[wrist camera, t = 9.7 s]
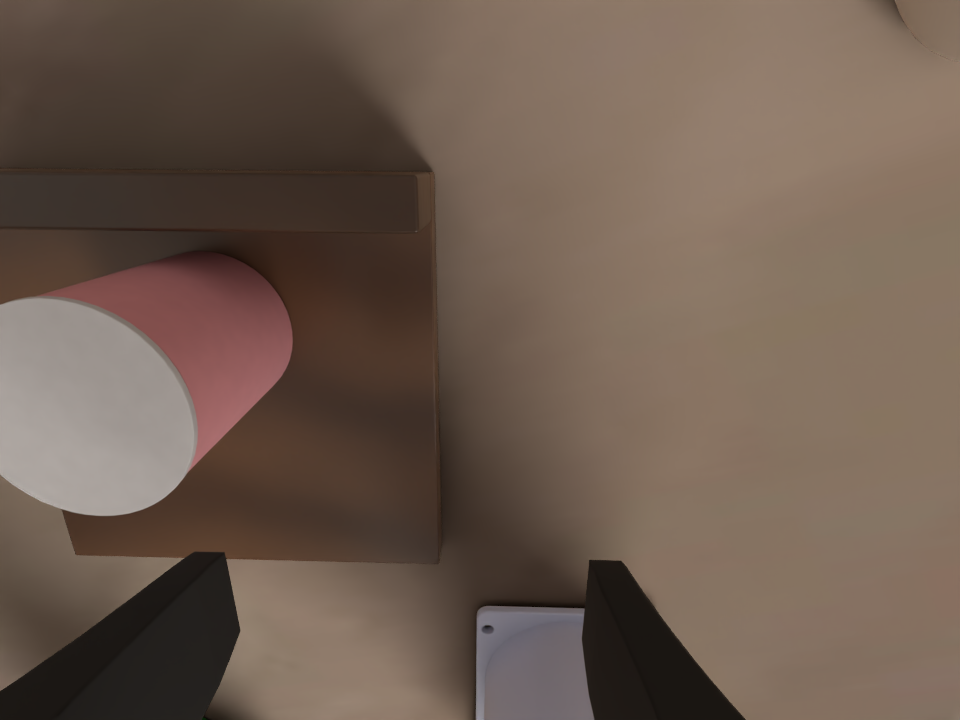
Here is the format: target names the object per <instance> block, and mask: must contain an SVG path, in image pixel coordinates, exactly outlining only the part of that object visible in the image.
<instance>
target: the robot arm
mask: <svg viewBox="0 0 960 720" xmlns="http://www.w3.org/2000/svg"><path fill="white" fill-rule="evenodd" d="M485 625H490V626H491V627H485ZM239 633H240V626H239V621H238V616H237V611H236V606H235V601H234V596H233V591H232V586H231V581H230V576H229V571H228V566H227V561H226V556H225V552H197V551H194V552H193V553H191V554H190V555H189V556H187V557H186V558H184V559H183V560H181V561H180V562H179V563H177V564H176V565H175V566H173V567H172V568H171V569H169V570H168V571H167V572H165V573H164V574H163V575H161V576H160V577H159V578H157V579H156V580H155V581H153V582H152V583H151V584H149V585H148V586H147V587H145V588H144V589H143V590H141V591H140V592H139V593H137V594H136V595H135V596H134V597H132V598H131V599H130V600H128V601H127V602H126V603H124V604H123V605H122V606H120V607H119V608H117V609H116V610H115V611H113V612H112V613H111V614H109V615H108V616H107V617H105V618H104V619H103V620H101V621H100V622H99V623H97V624H96V625H95V626H93V627H92V628H91V629H89V630H88V631H87V632H85V633H84V634H82V635H81V636H80V637H78V638H77V639H75V640H74V641H72V642H71V643H70V644H68V645H67V646H65V647H64V648H62V649H61V650H60V651H58V652H57V653H55V654H54V655H52V656H51V657H49V658H48V659H47V660H45V661H44V662H42V663H41V664H39V665H38V666H37V667H35V668H34V669H32V670H31V671H29V672H28V673H27V674H25V675H24V676H22V677H21V678H19V679H18V680H16V681H15V682H13V683H12V684H10V685H9V686H7V687H6V688H4V689H3V690H1V691H0V720H202V718H203V716H204V714H205V712H206V710H207V708H208V706H209V704H210V702H211V701H212V699H213V697H214V695H215V693H216V691H217V689H218V687H219V685H220V682H221V680H222V677H223V675H224V672H225V670H226V667H227V665H228V662H229V660H230V657H231V654H232V652H233V649H234V646H235V644H236V641H237V638H238V636H239ZM476 720H746V719H745V718H744V717H743V716H742V715H741V714H740V713H739V712H738V710H737V709H736V708H735V707H734V706H733V705H732V704H731V703H730V702H729V700H728V699H727V698H726V697H725V696H724V695H723V693H722V692H721V691H720V690H719V689H718V688H717V686H716V685H715V684H714V683H713V682H712V681H711V680H710V678H709V677H708V676H707V675H706V673H705V672H704V671H703V670H702V669H701V667H700V666H699V665H698V664H697V663H696V661H695V660H694V659H693V658H692V656H691V655H690V654H689V652H688V651H687V650H686V649H685V647H684V646H683V645H682V643H681V642H680V641H679V640H678V638H677V637H676V636H675V635H674V633H673V632H672V631H671V629H670V628H669V627H668V625H667V624H666V623H665V621H664V620H663V619H662V617H661V616H660V615H659V613H658V612H657V610H656V609H655V608H654V606H653V605H652V603H651V602H650V601H649V599H648V598H647V596H646V595H645V594H644V592H643V591H642V589H641V588H640V586H639V585H638V583H637V582H636V580H635V579H634V577H633V576H632V574H631V573H630V571H629V570H628V568H627V567H626V566H625V564H624V563H623V562H622V561H610V560H589V570H588V580H587V590H586V600H585V608H551V607H513V606H484V607H482V608H480V609H479V610H478V612H477V638H476Z"/></svg>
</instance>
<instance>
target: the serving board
mask: <svg viewBox="0 0 960 720" xmlns="http://www.w3.org/2000/svg"><path fill="white" fill-rule="evenodd" d="M193 251H206V252H214V253H219V254H223V255H226V256H229V257H232V258H234V259H237V260H239V261H241V262H243V263H245V264H246V265H248V266H249V267H251V268H253V269H254V270H255V271H257V272H258V273H259V274H260V275H262V276H263V277H264V278H265V279H266V280H267V281H268V282H269V283H270V284H271V286H272V287H273V288H274V289H275V291H276V292H277V293H278V295H279V297H280V298H281V300H282V301H283V304H284V306H285V308H286V310H287V312H288V316H289V319H290V322H291V328H292V336H293V344H292V353H291V357H290V360H289V363H288V365H287V368H286V370H285V371H284V373H283V375H282V376H281V378H280V379H279V380H278V381H277V382H276V383H275V384H274V386H273V387H272V388H271V389H270V390H269V391H268V392H267V393H266V394H265V395H264V396H263V397H262V398H261V399H260V400H259V401H258V402H257V403H256V404H255V405H254V406H253V407H252V408H251V409H250V410H249V411H248V412H247V413H246V414H245V415H244V416H243V417H242V418H241V419H240V420H239V421H238V422H237V423H236V424H235V425H234V426H233V427H232V428H231V429H230V430H229V431H228V432H227V433H226V434H225V435H224V436H223V437H222V438H221V439H220V440H219V441H218V442H217V443H216V444H215V445H214V446H213V447H212V448H211V449H210V450H209V451H208V452H207V453H206V454H205V455H204V456H203V457H202V458H201V459H200V460H199V461H198V462H197V464H196V465H195V466H194V467H193V468H192V469H191V470H190V471H189V472H188V473H187V474H186V475H185V477H184V478H183V480H182V481H181V482H180V483H179V484H178V486H177V487H176V488H175V489H174V490H173V491H172V492H170V493H169V494H168V495H167V496H166V497H165V498H163V499H162V500H160V501H159V502H157V503H155V504H154V505H152V506H149V507H147V508H145V509H143V510H139V511H136V512H132V513H129V514H122V515H115V516H96V515H85V514H80V513H75V512H70V511H67V510H63V509H62V512H63V515H64V519H65V522H66V525H67V528H68V531H69V535H70V538H71V541H72V544H73V548H74V551H75V554H76V555H93V556H133V557H174V558H186V557H187V556H189V555H190V554H191V553H193V552H194V551H197V552H225V556H226V559H255V560H295V561H335V562H376V563H416V564H439V563H440V556H441V549H442V518H441V470H440V422H439V374H438V326H437V278H436V229H435V181H434V172H414V171H293V170H171V169H50V168H0V305H1V304H4V303H6V302H9V301H13V300H16V299H22V298H27V297H35V296H38V295H42V294H45V293H48V292H52V291H55V290H59V289H62V288H65V287H69V286H72V285H76V284H79V283H82V282H86V281H89V280H93V279H96V278H99V277H103V276H106V275H110V274H113V273H116V272H120V271H123V270H126V269H130V268H133V267H137V266H140V265H143V264H147V263H150V262H154V261H157V260H160V259H164V258H167V257H171V256H174V255H177V254H181V253H186V252H193Z"/></svg>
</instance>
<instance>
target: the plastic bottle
mask: <svg viewBox="0 0 960 720" xmlns="http://www.w3.org/2000/svg"><path fill="white" fill-rule="evenodd" d="M894 1H895V3H896V5H897V8H898V10H899V13H900V15H901V17H902V19H903V22H904V23H905V24H906V26H907V27H908V28H909V30H910V31H911V33H912V34H913V35H914V37H915V38H916V39H917V40H918V41H919V42H921V43H922V44H923V45H924V46H926V47H927V48H928V49H929V50H930V51H932V52H934V53H936V54H938V55H940V56H942V57H945V58H947V59H949V60H952V61H957V62H960V0H894Z"/></svg>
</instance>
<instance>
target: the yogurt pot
mask: <svg viewBox="0 0 960 720" xmlns="http://www.w3.org/2000/svg"><path fill="white" fill-rule="evenodd" d="M292 344H293V336H292V328H291V322H290V319H289V316H288V312H287V310H286V308H285V306H284V304H283V301H282V300H281V298H280V297H279V295H278V293H277V292H276V291H275V289H274V288H273V287H272V286H271V284H270V283H269V282H268V281H267V280H266V279H265V278H264V277H263V276H262V275H260V274H259V273H258V272H257V271H255V270H254V269H253V268H251V267H249V266H248V265H246V264H245V263H243V262H241V261H239V260H237V259H234V258H232V257H229V256H226V255H223V254H219V253H214V252H206V251H193V252H186V253H181V254H177V255H174V256H171V257H167V258H164V259H160V260H157V261H154V262H150V263H147V264H143V265H140V266H137V267H133V268H130V269H126V270H123V271H120V272H116V273H113V274H110V275H106V276H103V277H99V278H96V279H93V280H89V281H86V282H82V283H79V284H76V285H72V286H69V287H65V288H62V289H59V290H55V291H52V292H48V293H45V294H42V295H38V296H35V297H27V298H22V299H16V300H13V301H9V302H6V303H4V304H1V305H0V475H1V476H2V477H3V478H5V479H6V480H7V481H9V482H10V483H11V484H13V485H14V486H15V487H17V488H19V489H20V490H22V491H23V492H25V493H26V494H28V495H30V496H32V497H34V498H36V499H38V500H40V501H42V502H44V503H47V504H49V505H52V506H54V507H57V508H60V509H63V510H67V511H70V512H75V513H80V514H85V515H96V516H115V515H122V514H129V513H132V512H136V511H139V510H143V509H145V508H147V507H149V506H152V505H154V504H155V503H157V502H159V501H160V500H162V499H163V498H165V497H166V496H167V495H168V494H169V493H170V492H172V491H173V490H174V489H175V488H176V487H177V486H178V484H179V483H180V482H181V481H182V480H183V478H184V477H185V475H186V474H187V473H188V472H189V471H190V470H191V469H192V468H193V467H194V466H195V465H196V464H197V462H198V461H199V460H200V459H201V458H202V457H203V456H204V455H205V454H206V453H207V452H208V451H209V450H210V449H211V448H212V447H213V446H214V445H215V444H216V443H217V442H218V441H219V440H220V439H221V438H222V437H223V436H224V435H225V434H226V433H227V432H228V431H229V430H230V429H231V428H232V427H233V426H234V425H235V424H236V423H237V422H238V421H239V420H240V419H241V418H242V417H243V416H244V415H245V414H246V413H247V412H248V411H249V410H250V409H251V408H252V407H253V406H254V405H255V404H256V403H257V402H258V401H259V400H260V399H261V398H262V397H263V396H264V395H265V394H266V393H267V392H268V391H269V390H270V389H271V388H272V387H273V386H274V384H275V383H276V382H277V381H278V380H279V379H280V378H281V376H282V375H283V373H284V371H285V370H286V368H287V365H288V363H289V360H290V357H291V353H292Z"/></svg>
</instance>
